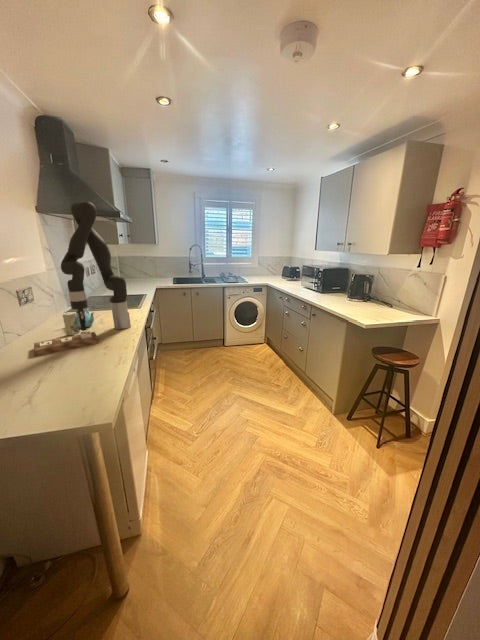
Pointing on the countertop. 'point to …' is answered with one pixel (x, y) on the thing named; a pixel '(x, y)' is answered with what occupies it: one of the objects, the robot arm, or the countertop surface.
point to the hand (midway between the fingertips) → (83, 330)
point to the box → (70, 323)
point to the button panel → (64, 344)
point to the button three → (85, 335)
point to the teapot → (88, 320)
